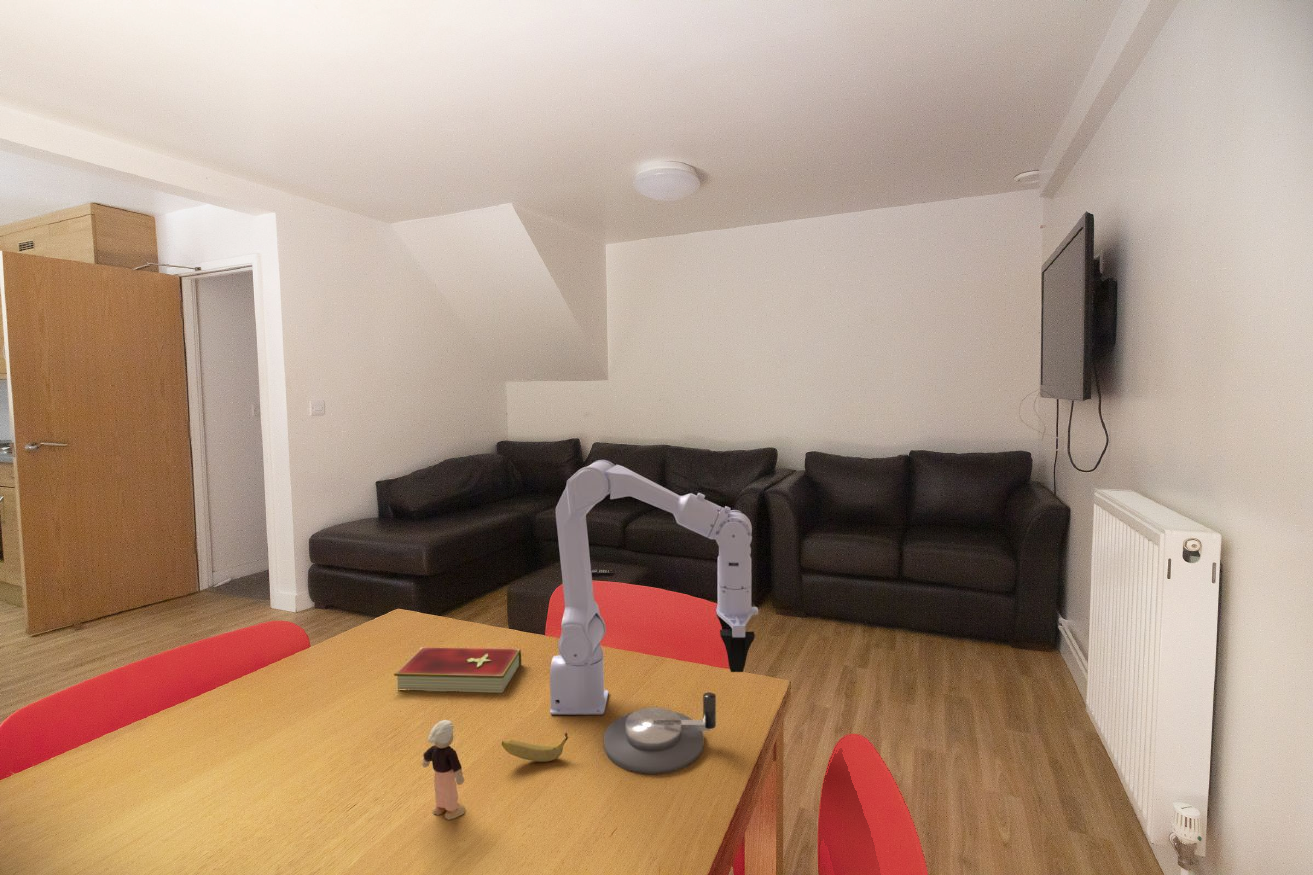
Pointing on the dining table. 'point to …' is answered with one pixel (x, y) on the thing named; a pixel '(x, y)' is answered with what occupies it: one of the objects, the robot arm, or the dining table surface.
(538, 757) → the banana
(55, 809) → the dining table surface
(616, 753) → the dial base
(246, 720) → the dining table surface
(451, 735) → the grandmother figurine
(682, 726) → the dial
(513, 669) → the hardcover book
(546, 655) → the dining table surface
